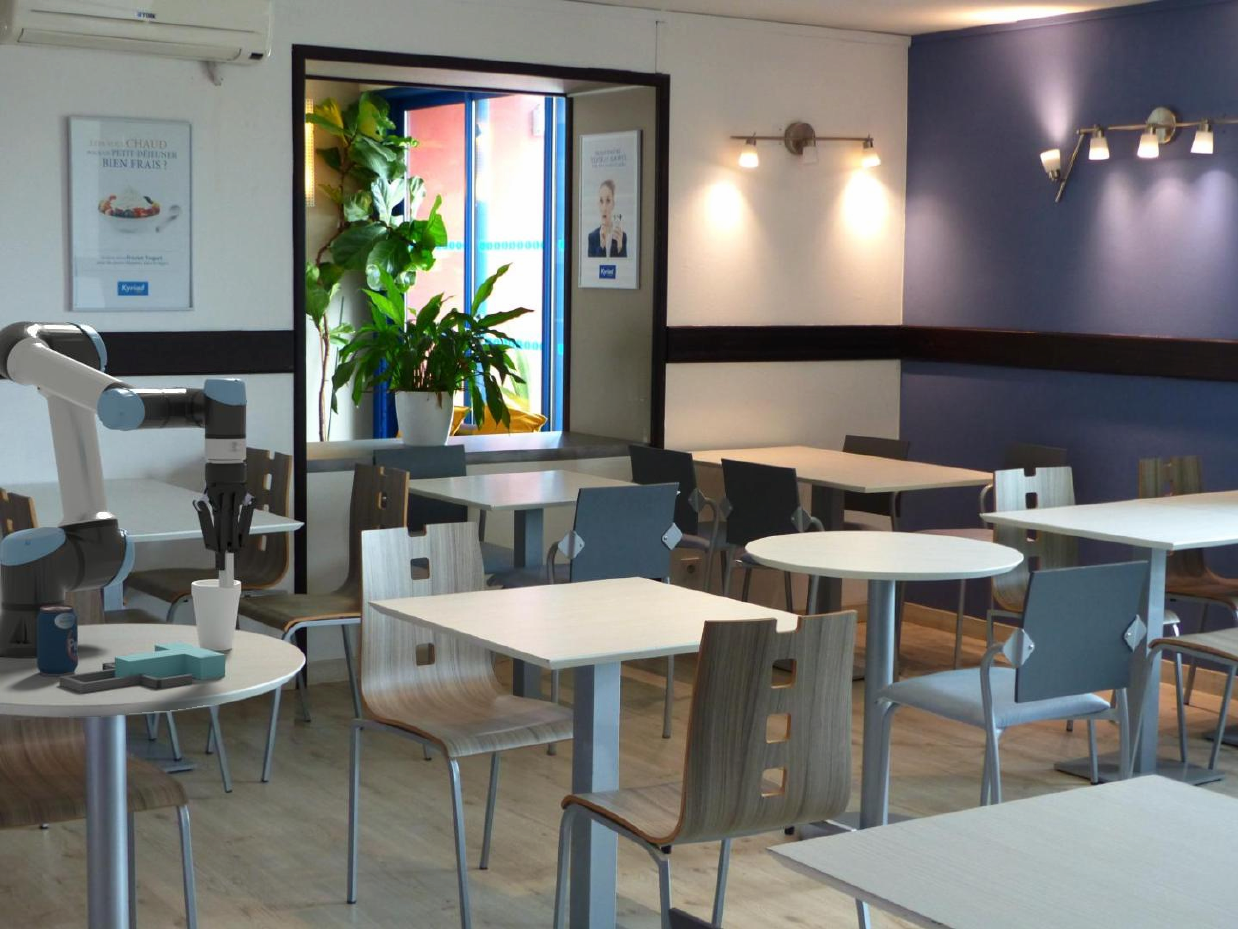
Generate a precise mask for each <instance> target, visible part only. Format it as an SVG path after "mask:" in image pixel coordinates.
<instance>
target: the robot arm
mask: <svg viewBox="0 0 1238 929" xmlns="http://www.w3.org/2000/svg"><path fill="white" fill-rule="evenodd" d="M107 356H108V355H107V349H106V346H105V343H104V341H103V339H102V337H101V335H100V334H99V333H98V332H97V331H96V330H94V329H93V328H92V327H90V325H87V324H82V323H75V322H71V321H67V322H62V321H61V322H60V321H59V322H58V321H57V322H51V321H50V322H49V321H44V322H41V321H27V320H26V321H24V320H23V321H17V322H13V323H11V324H9V325H6V326H5V327H2V329H0V375H1V376H2V377H3V378H5V379H7V380H9V381H11V382H13V383H16V384H18V385H21V386H27V387H28V386H35V387H37V388H36V389H37V392H38V394H39V395H41V396H42V397H43V398H44V399H45V400H46V402H47V409H48V410H47V411H48V416H49V423H50V429H51V430H50V431H51V437H52V444H53V451H54V457H55V466H56V473H57V478H58V479H57V480H58V486H59V492H60V494H59V495H60V500H61V505H62V506H61V507H62V514H63V515H62V516H63V517H62V519H61V520H60V522H58V524H57V525H56V527H54V526H49V527H48V526H44V527H38V528H28V529H22V530H18V531H14V532H12V533H9V534H8V535H6V536H5V537H4V538H3V540H2V541H1V542H0V544H1V546H0V608H1V609H0V657H9V658H37V617H38V615H39V613H40V611H41V610H40V608H41V607H44V606H49V605H66V593H71V592H78V591H79V592H80V591H86V590H95V589H104V588H107V587H111V586H112V587H113V586H115V585H119V584H120V583H122V582H123V581H124V580H126V578H127V577H128V576H129V573H130V572H131V571H132V569H133V566H134V563H135V556H136V554H135V553H136V550H135V543H134V541H133V538H132V536H131V535H130V533H129V532H128V531H127V530H125V528H121V527H119V522H118V517H117V516H116V515H114V514H113V513H112V512H111V511H109V507H108V501H107V500H108V499H107V493H106V492H107V491H106V487H105V486H106V485H105V484H106V483H105V477H104V470H103V466H102V465H103V464H102V456H101V450H100V442H99V436H98V430H97V421H96V415H97V417H98V419H99V421H100V422H102V423H101V424H102V425H103V426H104V427H105V428H107V429H109V430H113V431H122V432H128V431H137V430H138V431H140V430H155V429H158V430H159V429H160V430H161V429H164V430H165V429H188V428H189V429H204V459H205V460H206V461H207V462H206V463H205V464H204V482H205V488H204V491H203V495H202V496H201V497H199V499H194V500H193V501H192V506H193V508H194V510H195V511H196V512H197V516H198V521H199V522H198V523H199V525H200V531H201V534H202V540H203V543H204V547H205V549H206V550H209V551H211V552H213V553H214V555H215V562H214V563H215V564H214V565H215V566H214V567H215V570H216V571H218V579H219V587H222V588H234V580H235V579H234V578H235V575H234V574H235V573H234V572H235V570H237V568H238V553H240V552H241V550H242V549H245V548H247V547H248V546H247V545H248V542H249V536H250V532H251V526H252V521H253V516H254V511H255V509H256V506H257V505H258V504H259V497H257V496H252V495H251V494H250V493H249V492H248V488H247V485H246V481H247V480H248V478H247V464H246V462H244V460H246V459H247V403H248V399H247V391H246V390H247V389H246V383H245V381H244V380H243V379H241V378H227V377H226V378H225V377H223V378H222V377H221V378H220V377H219V378H218V377H217V378H210V377H209V378H207V379H205V380H204V383H203V384H204V385H203V388H196V387H185V386H184V387H183V386H180V387H178V386H174V387H164V388H163V387H160V388H159V387H157V388H155V387H153V388H152V387H150V388H149V387H148V388H147V387H146V388H142V387H141V388H140V387H136V386H134V385H132V384H129V383H127V382H124V381H123V380H120V379H118V378H116V377H113V376H111V375H110V374H107V373H105V371H106V368H105V366H106V365H107V363H108V357H107ZM95 414H96V415H95ZM241 505H242V506H241ZM210 507H211V511H210ZM240 507H241V508H240ZM212 517H213V520H212Z"/></svg>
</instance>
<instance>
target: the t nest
mask: <svg viewBox="0 0 1238 929" xmlns="http://www.w3.org/2000/svg"><path fill="white" fill-rule="evenodd" d="M58 677H59V678H58V679H59V681H58V683H59V686H60V687H64V688H67V689H70V690H73V691H74V692H79V693H81V694H84V693H90V692H91V693H92V692H96V691H104V690H109V689H115V688H116V689H117V688H122V687H123V688H124V687H128V686H135V685H143V686H147V687H150V688H151V689H152V688H153V689H156V690H157V689H158V690H159V689H165V688H171V687H177V686H183V685H184V686H185V685H189V684H190V685H191V684H194V678H193V675H192V674H187V675H180V676H174V677H167V678H160V679H158V678H155V677H152V676H149V675H145V674H138V675H131V676H125V677H118V678H115V661H112V662H105V663H104V662H103V663H102V670H98V671H97V670H95V671H89V672H83V673H82V672H81V673H76V674H74V673H73V674H69V675H62V676H58Z"/></svg>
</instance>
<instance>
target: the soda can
mask: <svg viewBox="0 0 1238 929" xmlns="http://www.w3.org/2000/svg"><path fill="white" fill-rule="evenodd" d="M40 610H41V611H40V613H39V615H38V617H37V657H36V658H37V659H36V663H37V664H36V667H37V670H38V671H39V672H40V674H41V675H43V676H49V677H60V676H67V675H73V674H74V673H75V671H76V669H77V668H78V665H79V647H78V646H79V640H78V638H79V636H78V635H79V634H78V632H79V630H78V629H79V628H78V625H79V624H78V614H77V612H76V611H75V606H73V605H71V604H65V605H49V606H44V607H41V608H40Z"/></svg>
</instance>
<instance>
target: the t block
mask: <svg viewBox="0 0 1238 929" xmlns="http://www.w3.org/2000/svg"><path fill="white" fill-rule="evenodd" d="M114 662H115V678H118V677H125V676H131V675H138V674H145V675H149V676H152V677H155V678H158V679H160V678H167V677H174V676H180V675H187V674H192V675H193V679H197V680H199V681H203V680H209V679H216V678H222V677H223V678H224V677H226V654H224V653H220V652H218V651H210V650H207V649H203V648H200V646H194V645H192V644H189V643H184V642H180V641H176V642H168V643H160V644H155V645H154V651H151V652H143V653H142V652H141V653H136V654H134V653H133V654H128V655H121V656H114Z"/></svg>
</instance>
